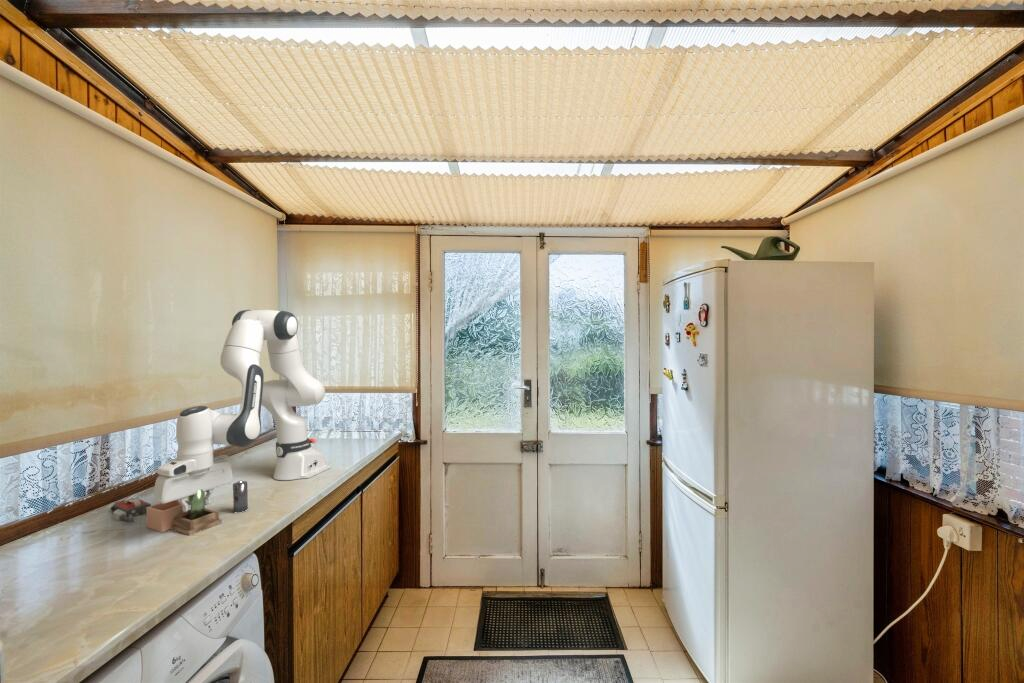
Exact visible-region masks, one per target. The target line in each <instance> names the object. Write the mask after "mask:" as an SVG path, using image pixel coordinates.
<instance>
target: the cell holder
mask: <svg viewBox="0 0 1024 683" xmlns="http://www.w3.org/2000/svg"><path fill="white" fill-rule="evenodd" d="M222 521H223V520H222V519H221V518H220V511H216V510H214V509H209V508H206V507H205V516H203V517H200V518H197V519H194V520H189V513H186V514H183V515H180V516H178V517H175V518H174V524H175V525H174V526H172V529H173V530H172V529H171V530H172V531H174V530H176V531H175V532H177V531H179V533H181V532H182V533H181V534H184V533H185V535H187V534H189V535H188V536H191V535H190V534H192V535H194V534H193V533H195V532H197V533H199V532H198V531H200V530H202V531H204V530H203V529H205V530H207V529H206V528H208V529H210V528H212V526H213V527H215V526H217V525H216V524H218V525H220V524H222V523H223V522H222ZM219 523H220V524H219ZM214 525H215V526H214ZM209 527H210V528H209ZM200 532H201V531H200ZM195 534H196V533H195Z"/></svg>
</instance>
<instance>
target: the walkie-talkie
mask: <svg viewBox="0 0 1024 683" xmlns="http://www.w3.org/2000/svg"><path fill="white" fill-rule="evenodd" d="M149 506H152V504H151V503H149V502H146V501H144V500H141V499H140V498H134V497H131V498H127V499H124V500H122V501H117V502H115V503H114V504H113V505H112V506H110V511H112V512H113V514H112V515H113V517H112V518H113V519H114V520H116V521H118V522H120V521H125V522H128V523H135V519H133V518H134V517H138V516H141V515H144V514H145V515H146V514H147V511H146V507H149Z"/></svg>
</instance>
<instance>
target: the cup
mask: <svg viewBox="0 0 1024 683" xmlns="http://www.w3.org/2000/svg"><path fill="white" fill-rule="evenodd" d="M185 502H186V503H187V504H188V499H187V500H186V501H185ZM146 511H147V513H146V528H149V529H151V530H154V531H158V532H160V531H161V532H160V533H164V532H167V531H170V530H172V529H171V528H172V526H174V525H175V524H174V518H175V517H178V516H180V515H183V514H186V513H189V511H187V512H183V510H182V505H181V504H180V503H179V502H178V500H175V501H171V502H168V503H165V504H162V503H156V504H154V505H152V504H151V506H149V507H146ZM169 529H170V530H169ZM166 530H167V531H166Z"/></svg>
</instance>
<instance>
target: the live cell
mask: <svg viewBox="0 0 1024 683" xmlns="http://www.w3.org/2000/svg"><path fill="white" fill-rule="evenodd" d="M205 496H206V494H205V491H203V489H201V490H198V491H197V493H196V494H194V495H191V496H188V497H187V501H188V504H191V510H190V511H189V520H194V519H197V518H200V517H203V516H205V508H206V505H205Z"/></svg>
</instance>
